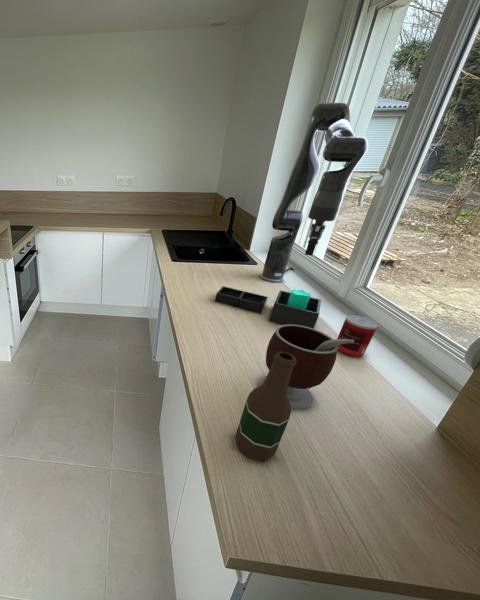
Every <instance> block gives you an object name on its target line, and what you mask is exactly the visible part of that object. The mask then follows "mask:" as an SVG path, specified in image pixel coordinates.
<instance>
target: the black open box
mask: <svg viewBox="0 0 480 600" xmlns="http://www.w3.org/2000/svg"><path fill="white" fill-rule="evenodd" d="M290 294H291V291H284V290H279V291H278V293H277V296H276V298H275V300H274V303H273V306H272V309H271V313H270V315H269V319H268V322H270V323H273V324H277V325H280V326H281V325H287V324H293V325H301V326H306V327H309V328H313V329H315V326H316V323H317V320H318V318H319V315H320V311H321V306H322V305H321V303H322V299H320V298H317V297H316V298H315V297H311V296H310V298H309V301H308V304H307V307H306V309H305V310H304V309H300V308H296V307H291V306H287V303H288V300H289V297H290Z"/></svg>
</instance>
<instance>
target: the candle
mask: <svg viewBox="0 0 480 600" xmlns="http://www.w3.org/2000/svg"><path fill="white" fill-rule="evenodd" d="M290 293H291V294H290V297H289V300H288V303H287V306H291V307H296V308H300V309H304V310H305V309H306V307H307V304H308V301H309V298H310V297H311V296H312V294H311V292H307V291H305V290H303V289H294V288H293V289H291V291H290Z"/></svg>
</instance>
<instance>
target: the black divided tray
mask: <svg viewBox="0 0 480 600" xmlns="http://www.w3.org/2000/svg"><path fill="white" fill-rule="evenodd" d="M267 301H268V296H265V295H262V294H258V293H253V292H248V291H246V290H241V289H236V288H232V287H229V286H224V285H223V286H221V287H220V288H219V290H218V291H217V292H216V295H215V299H214V302H215V303H218V304H223V305H227V306H230V307H234V308H237V309H240V310H246V311H249V312H252V313H256V314H260V315H261V314H262V313H263V311H264V308H265V307H266V304H267Z"/></svg>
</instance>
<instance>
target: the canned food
mask: <svg viewBox="0 0 480 600" xmlns="http://www.w3.org/2000/svg"><path fill="white" fill-rule="evenodd" d="M378 327H379V325H378V323H377V322H376V321H374V320H372V319H370V318H368V317H365V316H361V315H357V314H356V315H355V314H350V315H347V316H346V317H345V319H344V321H343V324H342V326H341V328H340V331H339V333H338V335H337V337H336V339H349V340H354V344H353V343H345V344H341V345H338V349H337V352H338V353H340V354H342V355H345V356H347V357H351V358H361V357H363V356H364V355H365V353H366V351H367V349H368V348H369V345H370V343H371V341H372V339H373V337H374V335H375V333H376V331H377V329H378Z"/></svg>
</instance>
